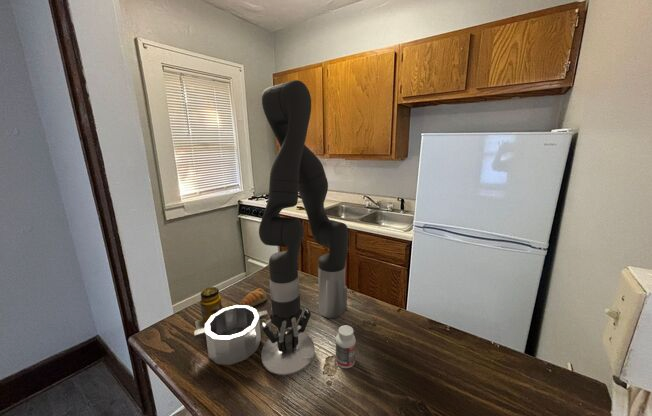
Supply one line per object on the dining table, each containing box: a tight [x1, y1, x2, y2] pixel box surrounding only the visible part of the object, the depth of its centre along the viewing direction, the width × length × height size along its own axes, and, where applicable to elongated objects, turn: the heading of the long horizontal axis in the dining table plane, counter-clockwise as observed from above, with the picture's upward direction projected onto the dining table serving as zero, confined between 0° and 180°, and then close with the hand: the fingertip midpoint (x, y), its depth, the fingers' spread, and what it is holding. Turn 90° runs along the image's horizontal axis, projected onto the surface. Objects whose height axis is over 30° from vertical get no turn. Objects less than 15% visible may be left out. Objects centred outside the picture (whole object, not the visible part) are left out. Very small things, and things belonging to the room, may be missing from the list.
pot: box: [193, 304, 269, 366], centre depth 73 cm, size 20×14×8 cm
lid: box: [260, 328, 316, 376], centre depth 68 cm, size 14×14×8 cm
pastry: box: [240, 287, 268, 307], centre depth 94 cm, size 9×7×4 cm
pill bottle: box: [334, 324, 357, 369], centre depth 67 cm, size 5×5×10 cm
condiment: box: [194, 286, 223, 330], centre depth 81 cm, size 7×8×12 cm
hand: (288, 348), depth 68 cm, fingers closed on lid, 3 cm apart
